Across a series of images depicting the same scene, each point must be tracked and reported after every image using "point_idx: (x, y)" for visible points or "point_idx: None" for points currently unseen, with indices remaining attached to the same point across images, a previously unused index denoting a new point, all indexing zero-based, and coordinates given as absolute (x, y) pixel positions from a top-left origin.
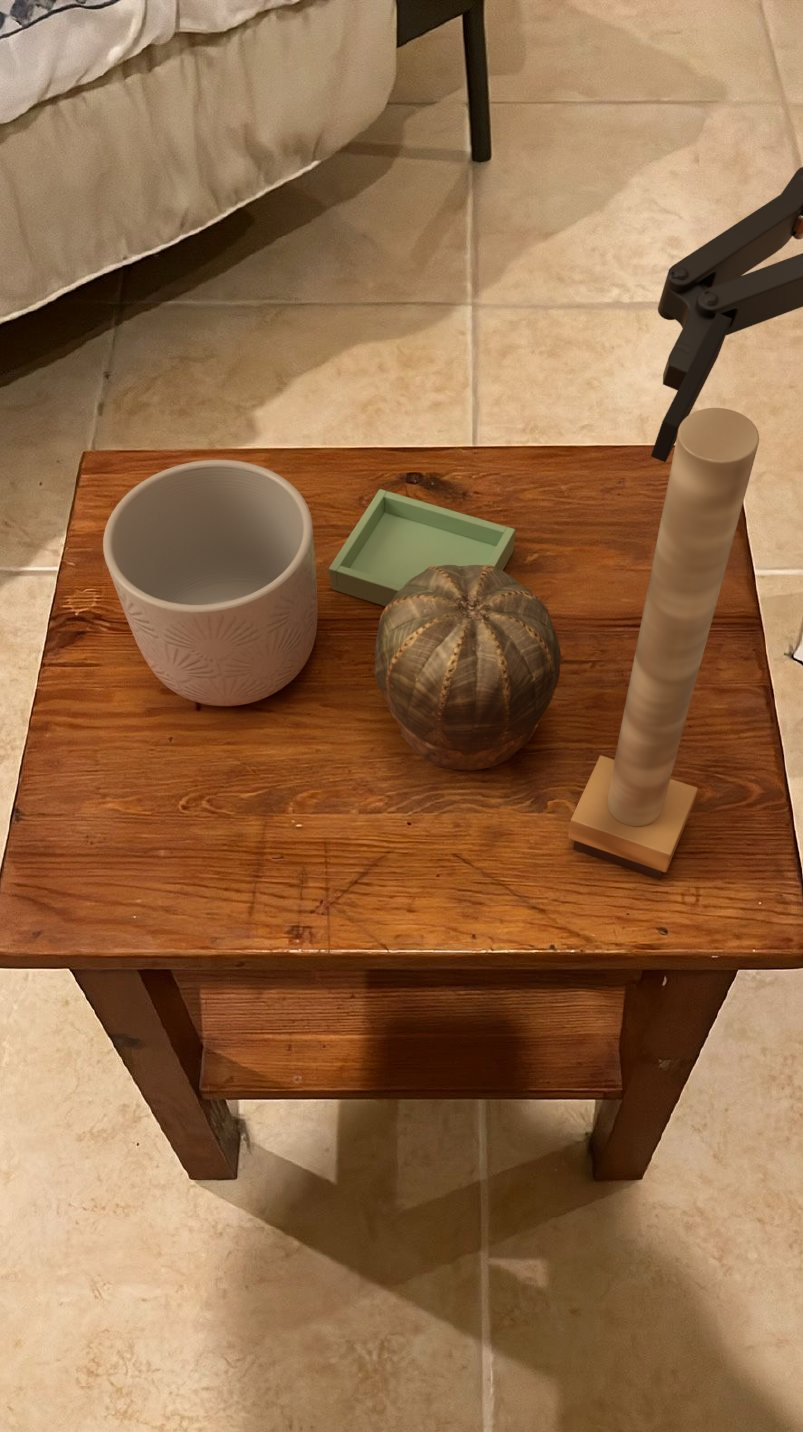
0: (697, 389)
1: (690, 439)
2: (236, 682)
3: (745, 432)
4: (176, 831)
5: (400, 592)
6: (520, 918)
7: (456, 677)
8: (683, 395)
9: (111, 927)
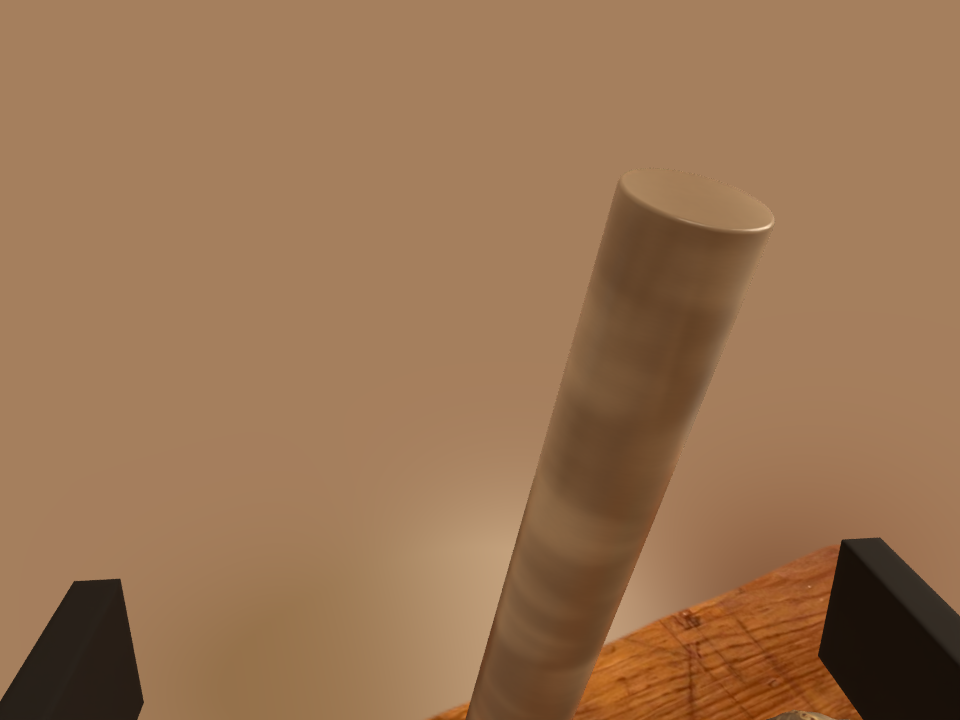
0: (923, 649)
1: (726, 190)
2: None
3: (660, 200)
4: None
5: None
6: None
7: (790, 716)
8: (919, 595)
9: (813, 573)
